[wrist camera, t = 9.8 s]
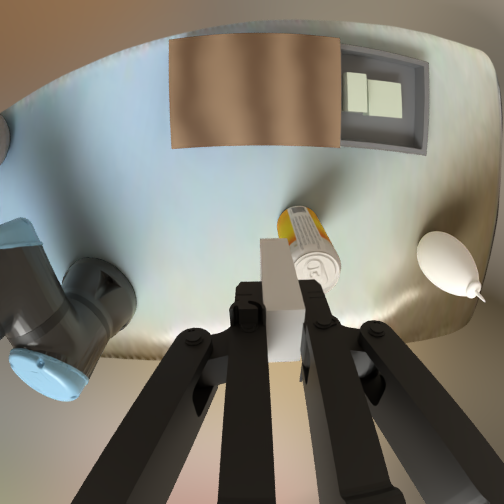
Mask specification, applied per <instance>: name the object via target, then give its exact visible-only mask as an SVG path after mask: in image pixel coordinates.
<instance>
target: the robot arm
mask: <svg viewBox="0 0 504 504" xmlns="http://www.w3.org/2000/svg"><path fill="white" fill-rule="evenodd" d="M42 245H43V243H42V242H41V241H40V240H39V238H38V236H37V234H36V232H35V229H34V227H33V225H32V223H31V222H30V221H29V220H28V219H26V218H23V217H20V218H17V219H14V220H11V221H9V222H6V223H4V224H1V225H0V340H1V339H2V338H3V337H4V336H6V337H7V339H8V340H9V342H10V343H11V345H12V346H13V349H12V350H11V351H10V355H9V362H10V364H11V367H12V369H13V370H14V372H15V373H16V374H17V375H18V376H19V377H20V378H21V379H22V380H23V381H24V382H25V383H26V384H28V385H29V386H30V387H32V388H33V389H35V390H36V391H38V392H39V393H41V394H43V395H45V396H47V397H50V398H52V399H55V400H59V401H72V400H75V399H76V398H78V397H79V395H80V394H81V392H82V390H83V388H84V387H85V385H87V384H88V381H89V379H90V376H91V374H92V372H93V370H94V368H95V366H96V364H97V362H98V360H99V358H100V356H101V354H102V352H103V350H104V348H105V346H106V344H107V343H108V341H109V339H110V338H112V337H113V336H114V335H116V334H117V333H118V332H119V331H121V330H122V329H124V328H125V327H126V326H127V325H128V324H129V322H130V321H131V319H132V317H133V315H134V313H135V310H136V297H135V294H134V291H133V288H132V286H131V285H130V283H129V281H128V280H127V279H126V277H125V276H124V275H123V274H122V273H121V272H120V271H119V270H118V269H117V268H115V267H114V266H113V265H111V264H109V263H108V262H106V261H103V260H101V259H97V258H83V259H80V260H78V261H76V262H75V263H74V264H73V265H72V266H71V267H70V268H69V269H68V270H67V272H66V273H65V275H64V277H63V281H62V285H60V283H59V281H58V279H57V277H56V275H55V273H54V271H53V268H52V266H51V264H50V262H49V260H48V257H47V255H46V253H45V251H44V248H43V246H42ZM229 312H230V324H231V326H230V327H229V328H228V329H227V330H225V331H223V332H221V333H218V334H213V335H210V333H209V332H208V331H207V330H204V329H201V328H190V329H186V330H184V331H182V332H181V333H180V334H179V335H178V336H177V337H176V339H175V340H174V342H173V343H172V345H171V347H170V348H169V350H168V351H167V353H166V354H165V356H164V357H163V359H162V360H161V362H160V363H159V365H158V366H157V368H156V369H155V371H154V373H153V374H152V376H151V377H150V379H149V380H148V382H147V383H146V385H145V386H144V388H143V389H142V391H141V393H140V394H139V396H138V397H137V399H136V401H135V402H134V403H133V405H132V407H131V408H130V410H129V412H128V413H127V414H126V416H125V417H124V419H123V421H122V422H121V424H120V425H119V427H118V428H117V430H116V432H115V434H114V435H113V436H112V438H111V440H110V441H109V443H108V444H107V446H106V447H105V449H104V451H103V452H102V454H101V455H100V457H99V459H98V461H97V462H96V464H95V465H94V467H93V468H92V470H91V472H90V473H89V475H88V476H87V478H86V480H85V481H84V483H83V485H82V486H81V488H80V489H79V491H78V493H77V494H76V496H75V497H74V499H73V501H72V503H71V504H166V502H167V500H168V498H169V496H170V494H171V492H172V489H173V487H174V485H175V483H176V481H177V478H178V476H179V474H180V472H181V470H182V468H183V465H184V463H185V461H186V459H187V457H188V454H189V452H190V450H191V447H192V446H193V443H194V441H195V439H196V436H197V434H198V432H199V430H200V427H201V425H202V423H203V421H204V418H205V416H206V414H207V412H208V409H209V407H210V405H211V402H212V400H213V397H214V395H215V393H216V391H217V389H218V385H219V384H223V383H226V390H225V403H224V417H223V431H222V444H221V459H220V473H219V489H218V490H219V491H218V502H217V504H276V497H275V476H274V456H273V437H272V418H271V400H270V383H269V367H268V362H287V361H300V355H301V357H302V367H301V374H300V382H302V379H303V385H304V392H305V399H306V405H307V412H308V419H309V426H310V433H311V440H312V447H313V455H314V462H315V470H316V478H317V486H318V494H319V502H320V504H406V502H405V499H404V496H403V494H402V492H401V491H400V490H399V489H398V488H396V487H394V486H393V485H392V484H391V482H390V479H389V475H388V471H387V467H386V464H385V461H384V457H383V453H382V449H381V446H380V443H379V439H378V435H377V432H376V429H375V425H374V422H373V419H374V420H375V422H376V424H377V425H378V427H379V428H380V430H381V432H382V433H383V435H384V436H385V438H386V439H387V441H388V443H389V444H390V446H391V447H392V449H393V451H394V452H395V454H396V456H397V457H398V459H399V460H400V462H401V464H402V465H403V467H404V468H405V470H406V472H407V473H408V475H409V477H410V478H411V480H412V482H413V483H414V485H415V486H416V488H417V490H418V491H419V493H420V495H421V496H422V498H423V500H424V501H425V503H426V504H504V463H503V462H502V460H501V459H500V458H499V456H498V455H497V454H496V453H495V451H494V450H493V448H492V447H491V446H490V445H489V443H488V442H487V441H486V439H485V438H484V437H483V435H482V434H481V433H480V432H479V430H478V429H477V428H476V427H475V425H474V424H473V423H472V421H471V420H470V419H469V418H468V416H467V415H466V414H465V413H464V412H463V410H462V409H461V408H460V407H459V405H458V404H457V403H456V402H455V401H454V399H453V398H452V397H451V396H450V395H449V394H448V392H447V391H446V390H445V389H444V388H443V386H442V385H441V384H440V383H439V382H438V380H437V379H436V378H435V377H434V376H433V375H432V373H431V372H430V371H429V370H428V369H427V368H426V367H425V365H424V364H423V363H422V362H421V361H420V360H419V359H418V358H417V356H416V355H415V354H414V353H413V352H412V351H411V350H410V348H409V347H408V346H407V345H406V344H405V343H404V342H403V341H402V339H401V338H400V337H399V336H398V335H397V334H396V333H395V332H394V331H393V330H392V328H391V327H390V326H388V325H387V324H386V323H383V322H381V321H375V320H372V321H367V322H365V323H363V324H362V326H361V328H360V329H356V328H349V327H345V326H343V325H341V324H340V322H339V320H338V319H337V318H336V317H334V316H333V315H332V314H331V311H330V308H329V305H328V303H327V300H326V298H325V294H324V292H323V289H322V286H321V284H320V283H318V282H317V281H316V280H315V279H306V280H298V278H297V274H296V270H295V266H294V263H293V259H292V255H291V251H290V247H289V244H288V240H287V238H273V239H260V281H259V282H240V283H239V285H238V286H237V287H236V293H235V302H234V303H233V304H232V305H231V307H230V309H229ZM372 417H373V419H372Z"/></svg>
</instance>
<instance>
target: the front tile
mask: <svg viewBox="0 0 504 504" xmlns="http://www.w3.org/2000/svg"><path fill="white" fill-rule="evenodd" d="M342 112H353V113H367V78H366V74H360V73H352V72H346V73H344V74H342Z"/></svg>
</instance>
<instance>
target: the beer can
mask: <svg viewBox="0 0 504 504" xmlns="http://www.w3.org/2000/svg"><path fill="white" fill-rule="evenodd" d="M277 230H278V236H279V238H287V240H288V244H289V247H290V251H291V255H292V259H293V263H294V266H295V270H296V274H297V278H298V280H306V279H315V280H316V281H317V282H318V283H320V284H321V286H322V289H323V292H324V294H325V293H327V292H329V291H330V290H331V289H332V288H333V287H334V286H335V285H336V284H337V282H338V279H339V276H340V271H341V262H340V258H339V256H338V254H337V252H336V250H335V249H334V247H333V245H332V243H331V241H330V239H329V237H328V236H327V234H326V232H325V230H324V228H323V227H322V225H321V223H320V221H319V219H318V218H317V216H316V214H315V213H314V212H313V211H312V210H311V209H309V208H307V207H305V206H293V207H290V208H288V209H286V210H285V211H284V212H283V213H282V214H281V215H280V217H279V219H278V222H277Z"/></svg>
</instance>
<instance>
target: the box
mask: <svg viewBox="0 0 504 504" xmlns="http://www.w3.org/2000/svg"><path fill="white" fill-rule="evenodd" d="M340 52H341V133H340V146H344V147H357V148H368V149H378V150H387V151H395V152H403V153H410V154H417V155H424V156H426V154H427V141H428V124H429V63H428V62H425V61H422V60H418V59H414V58H411V57H407V56H403V55H399V54H395V53H390V52H386V51H381V50H376V49H371V48H366V47H360V46H354V45H347V44H340ZM346 72H352V73H360V74H366V78H367V79H369V80H378V81H386V82H394V83H400V84H401V96H402V118H392V117H380V116H366V115H363V113H353V112H342V74H344V73H346Z"/></svg>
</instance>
